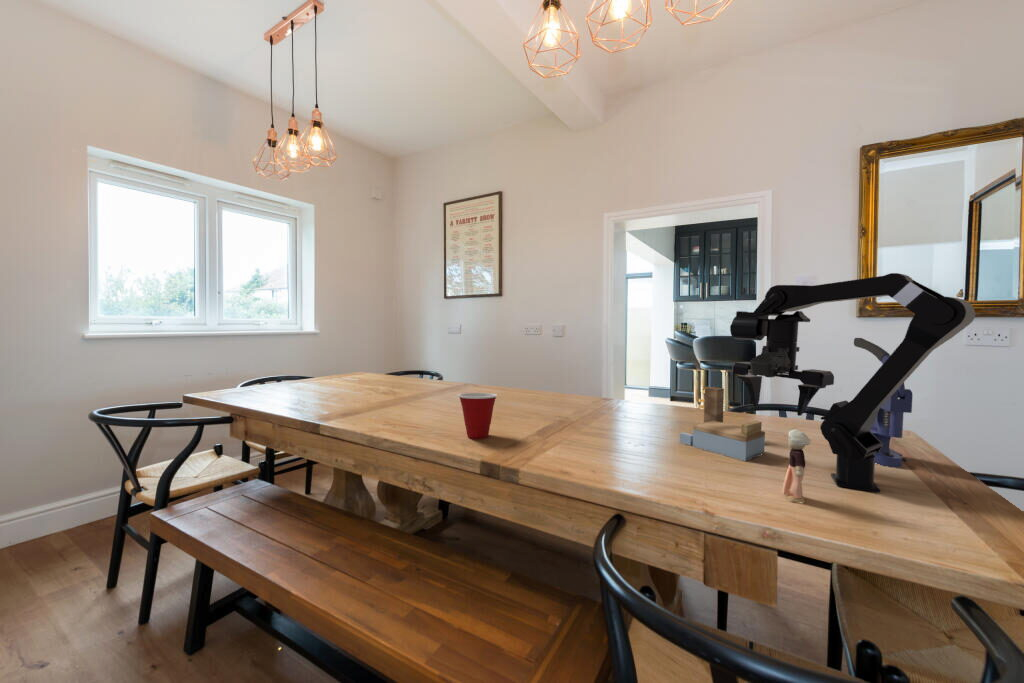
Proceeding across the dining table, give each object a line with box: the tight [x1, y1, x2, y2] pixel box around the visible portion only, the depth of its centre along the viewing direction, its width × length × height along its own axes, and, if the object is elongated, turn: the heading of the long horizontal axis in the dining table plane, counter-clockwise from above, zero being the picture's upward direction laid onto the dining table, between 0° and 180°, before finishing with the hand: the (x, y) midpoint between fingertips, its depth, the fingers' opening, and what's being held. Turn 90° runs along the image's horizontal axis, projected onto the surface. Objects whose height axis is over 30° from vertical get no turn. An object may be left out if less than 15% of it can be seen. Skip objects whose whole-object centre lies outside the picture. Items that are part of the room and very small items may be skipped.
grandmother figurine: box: [781, 428, 811, 504], centre depth 72 cm, size 8×4×13 cm, turn 159°
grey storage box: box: [679, 428, 766, 462], centre depth 102 cm, size 17×9×4 cm, turn 34°
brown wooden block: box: [703, 386, 725, 423], centre depth 112 cm, size 4×4×14 cm
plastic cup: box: [457, 392, 498, 440], centre depth 111 cm, size 11×11×12 cm
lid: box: [692, 420, 766, 442], centre depth 100 cm, size 13×9×4 cm
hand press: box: [853, 337, 913, 469], centre depth 95 cm, size 19×9×28 cm, turn 164°
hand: (776, 410), depth 91 cm, fingers open, 9 cm apart
